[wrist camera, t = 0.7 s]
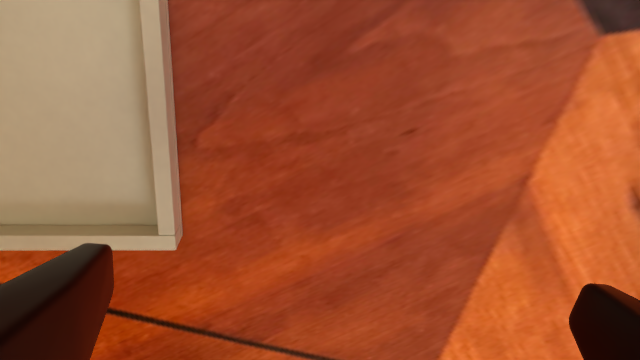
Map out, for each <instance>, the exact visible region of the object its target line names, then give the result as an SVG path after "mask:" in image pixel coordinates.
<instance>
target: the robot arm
mask: <svg viewBox="0 0 640 360" xmlns="http://www.w3.org/2000/svg"><path fill="white" fill-rule="evenodd" d="M113 288H114V277H113V255H112V249H111V247H110V246H109V245H107V244H96V243H84V244H82V245H80V246H78V247H76V248H74V249H72V250H70V251H68V252H66V253H64V254H62V255H60V256H58V257H56V258H54V259H52V260H50V261H48V262H46V263H44V264H42V265H40V266H38V267H36V268H34V269H32V270H30V271H28V272H26V273H24V274H22V275H20V276H18V277H16V278H14V279H12V280H10V281H8V282H6V283H4V284H2V285H0V360H90V358H91V355H92V352H93V349H94V346H95V343H96V340H97V338H98V335H99V332H100V329H101V326H102V323H103V320H104V318H105V315H106V312H107V309H108V306H109V303H110V300H111V297H112V294H113ZM569 325H570V329H571V332H572V334H573V336H574V338H575V341H576V343H577V345H578V348H579V350H580V352H581V355H582V357H583V359H584V360H640V300H638V299H636V298H634V297H632V296H630V295H628V294H626V293H624V292H622V291H620V290H618V289H616V288H614V287H612V286H609V285H605V284H592V283H590V284H587V285H585V286H584V287H583V288H582V290H581V292H580V294H579V296H578V298H577V301H576V303H575V305H574V307H573V309H572V311H571V314H570V317H569Z"/></svg>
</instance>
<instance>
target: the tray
mask: <svg viewBox="0 0 640 360" xmlns="http://www.w3.org/2000/svg"><path fill="white" fill-rule="evenodd" d="M182 235H183V230H182V215H181V199H180V183H179V168H178V152H177V137H176V121H175V105H174V90H173V74H172V59H171V43H170V27H169V12H168V0H0V250H72V249H74V248H76V247H78V246H80V245H82V244H84V243H96V244H107V245H109V246H110V247H111V249H112V250H176V249H177V246H178V244H179V242H180V240H181V237H182Z"/></svg>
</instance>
